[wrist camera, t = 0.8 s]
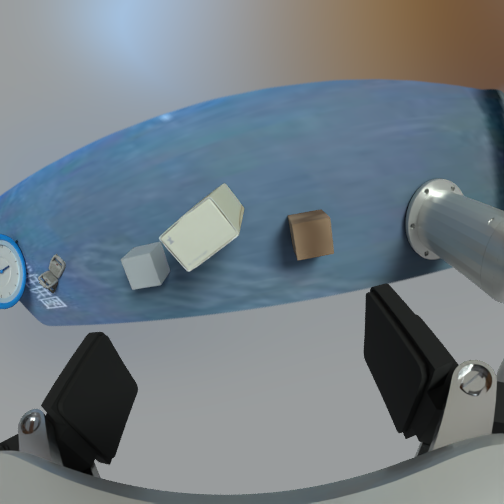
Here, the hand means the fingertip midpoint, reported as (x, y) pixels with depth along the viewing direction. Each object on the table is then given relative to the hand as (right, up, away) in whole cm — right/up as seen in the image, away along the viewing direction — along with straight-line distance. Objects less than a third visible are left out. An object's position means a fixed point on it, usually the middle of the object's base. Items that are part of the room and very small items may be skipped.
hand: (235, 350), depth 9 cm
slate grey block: (-14, +2, +29) cm, 32 cm away
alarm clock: (-45, +2, +29) cm, 54 cm away
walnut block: (+8, +6, +27) cm, 29 cm away
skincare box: (-4, +9, +26) cm, 28 cm away
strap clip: (-34, -1, +30) cm, 46 cm away
